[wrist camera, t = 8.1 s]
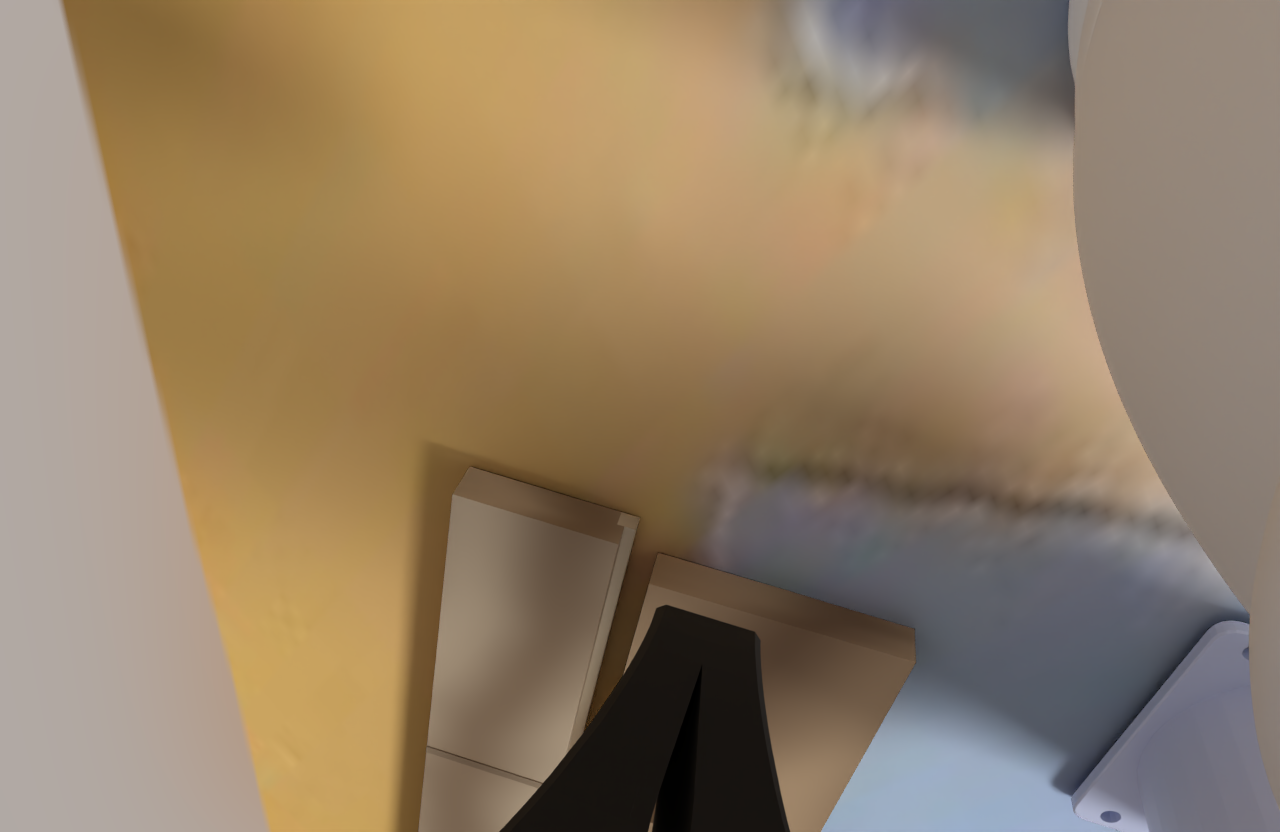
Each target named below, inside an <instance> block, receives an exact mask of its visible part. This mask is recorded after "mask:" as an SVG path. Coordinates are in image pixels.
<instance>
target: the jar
mask: <svg viewBox="0 0 1280 832" xmlns="http://www.w3.org/2000/svg"><path fill="white" fill-rule="evenodd" d="M1068 44H1069V55H1070V63H1071V69H1072V74H1073V79H1074V83H1075V136H1074V153H1073V196H1074V213H1075V225H1076V234H1077V242H1078V250H1079V256H1080V262H1081V268H1082V274H1083V279H1084V284H1085V288H1086V293H1087V297H1088V301H1089V306H1090V310H1091V313H1092V317H1093V321H1094V324H1095V328H1096V331H1097V335H1098V338H1099V341H1100V344H1101V347H1102V350H1103V353H1104V356H1105V359H1106V362H1107V365H1108V368H1109V370H1110V373H1111V376H1112V378H1113V381H1114V384H1115V386H1116V389H1117V391H1118V394H1119V396H1120V398H1121V401H1122V403H1123V405H1124V408H1125V410H1126V412H1127V414H1128V417H1129V419H1130V421H1131V423H1132V425H1133V427H1134V430H1135V432H1136V434H1137V436H1138V438H1139V440H1140V442H1141V444H1142V446H1143V448H1144V450H1145V452H1146V454H1147V456H1148V458H1149V459H1150V461H1151V463H1152V465H1153V467H1154V469H1155V471H1156V472H1157V474H1158V476H1159V478H1160V480H1161V481H1162V483H1163V485H1164V487H1165V488H1166V490H1167V492H1168V494H1169V495H1170V497H1171V499H1172V500H1173V502H1174V504H1175V505H1176V507H1177V509H1178V510H1179V512H1180V514H1181V515H1182V517H1183V519H1184V520H1185V522H1186V523H1187V525H1188V527H1189V528H1190V530H1191V531H1192V533H1193V535H1194V536H1195V538H1196V539H1197V541H1198V542H1199V544H1200V545H1201V547H1202V548H1203V550H1204V551H1205V553H1206V554H1207V556H1208V557H1209V559H1210V560H1211V562H1212V563H1213V565H1214V566H1215V568H1216V569H1217V571H1218V572H1219V573H1220V575H1221V576H1222V578H1223V579H1224V581H1225V582H1226V583H1227V585H1228V586H1229V588H1230V589H1231V590H1232V592H1233V593H1234V594H1235V596H1236V597H1237V599H1238V600H1239V601H1240V603H1241V604H1242V605H1243V607H1244V608H1245V609H1246V611H1247V612H1248V613H1249V614H1250V623H1249V668H1250V684H1251V696H1252V705H1253V713H1254V721H1255V728H1256V734H1257V739H1258V744H1259V748H1260V753H1261V757H1262V761H1263V764H1264V768H1265V771H1266V774H1267V778H1268V781H1269V784H1270V787H1271V789H1272V792H1273V795H1274V798H1275V800H1276V803H1277V805H1278V808H1279V810H1280V0H1069V11H1068Z"/></svg>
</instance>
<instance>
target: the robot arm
mask: <svg viewBox="0 0 1280 832" xmlns="http://www.w3.org/2000/svg"><path fill="white" fill-rule="evenodd" d="M1248 646H1249V624H1247V623H1244V622H1239V621H1232V620H1231V621H1222V622H1220V623H1217V624H1215V625H1213V626H1212V627H1211V628H1210V629H1208V630H1207V632H1206V633H1205V634H1204V635H1203V637H1202V638H1201V639H1200V640H1199V641H1198V643H1197V644H1196V645H1195V646H1194V648H1193V649H1192V650H1191V651H1190V652H1189V654H1188V655H1187V656H1186V657H1185V659H1184V660H1183V661H1182V662H1181V663H1180V665H1179V666H1178V667H1177V668H1176V670H1175V671H1174V672H1173V673H1172V674H1171V676H1170V677H1169V678H1168V679H1167V681H1166V682H1165V683H1164V684H1163V685H1162V687H1161V688H1160V689H1159V690H1158V691H1157V693H1156V694H1155V695H1154V696H1153V698H1152V699H1151V700H1150V701H1149V702H1148V704H1147V705H1146V706H1145V707H1144V709H1143V710H1142V711H1141V712H1140V713H1139V715H1138V716H1137V717H1136V718H1135V720H1134V721H1133V722H1132V723H1131V724H1130V726H1129V727H1128V728H1127V729H1126V731H1125V732H1124V733H1123V734H1122V735H1121V737H1120V738H1119V739H1118V740H1117V742H1116V743H1115V744H1114V745H1113V746H1112V748H1111V749H1110V750H1109V751H1108V753H1107V754H1106V755H1105V756H1104V757H1103V759H1102V760H1101V761H1100V762H1099V764H1098V765H1097V766H1096V767H1095V768H1094V770H1093V771H1092V772H1091V773H1090V775H1089V776H1088V777H1087V778H1086V779H1085V781H1084V782H1083V783H1082V784H1081V785H1080V787H1079V788H1078V789H1077V790H1076V792H1075V793H1074V794H1073V796H1072V798H1071V801H1072V806H1073V811H1074V813H1075V814H1076V815H1077V816H1078V817H1080V818H1082V819H1084V820H1086V821H1090V822H1093V823H1096V824H1099V825H1102V826H1106V827H1109V828H1112V829H1115V830H1118V831H1122V832H1280V810H1279V808H1278V805H1277V803H1276V800H1275V798H1274V795H1273V792H1272V789H1271V787H1270V784H1269V781H1268V778H1267V774H1266V771H1265V768H1264V764H1263V761H1262V757H1261V753H1260V748H1259V744H1258V739H1257V734H1256V728H1255V721H1254V713H1253V705H1252V696H1251V684H1250V668H1249V649H1248V648H1247V647H1248ZM655 804H656V807H655ZM654 808H655V814H654V820H653V827H652V832H790V829H789V825H788V821H787V817H786V813H785V809H784V804H783V800H782V796H781V791H780V786H779V781H778V776H777V771H776V766H775V761H774V756H773V751H772V746H771V740H770V734H769V728H768V721H767V714H766V707H765V700H764V691H763V682H762V670H761V640H760V639H759V637H758V635H757V634H756V632H754V631H751V630H748V629H745V628H741V627H738V626H735V625H732V624H728V623H725V622H722V621H719V620H715V619H712V618H709V617H706V616H702V615H699V614H696V613H692V612H689V611H686V610H683V609H679V608H676V607H673V606H670V605H663V606H660V607H657V608H656V610H655V613H654V616H653V619H652V622H651V624H650V627H649V629H648V631H647V633H646V635H645V637H644V639H643V641H642V643H641V645H640V647H639V649H638V651H637V653H636V654H635V656H634V658H633V660H632V661H631V663H630V665H629V666H628V668H627V670H626V671H625V673H624V675H623V676H622V678H621V680H620V681H619V683H618V684H617V686H616V687H615V689H614V690H613V691H612V693H611V694H610V696H609V697H608V699H607V700H606V702H605V703H604V705H603V706H602V707H601V709H600V710H599V712H598V713H597V715H596V716H595V718H594V719H593V721H592V722H591V723H590V725H589V726H588V727H587V729H586V730H585V731H584V733H583V734H582V735H581V736H580V738H579V739H578V740H577V742H576V743H575V744H574V745H573V747H572V748H571V749H570V750H569V752H568V753H567V754H566V755H565V757H564V758H563V759H562V760H561V762H560V763H559V764H558V766H557V767H556V768H555V769H554V771H553V772H552V773H551V774H550V775H549V777H548V778H547V779H546V780H545V781H544V783H543V784H542V785H541V786H540V787H539V788H538V789H537V791H536V792H535V793H534V794H533V795H532V796H531V798H530V799H529V800H528V801H527V802H526V803H525V804H524V805H523V807H522V808H521V809H520V810H519V811H518V812H517V813H516V814H515V815H514V816H513V817H512V818H511V820H510V821H509V822H508V823H507V824H506V825H505V826H504V827H503V828H502V829H501V830H500V831H499V832H648V830H649V826H650V822H651V818H652V815H653V811H654Z"/></svg>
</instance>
